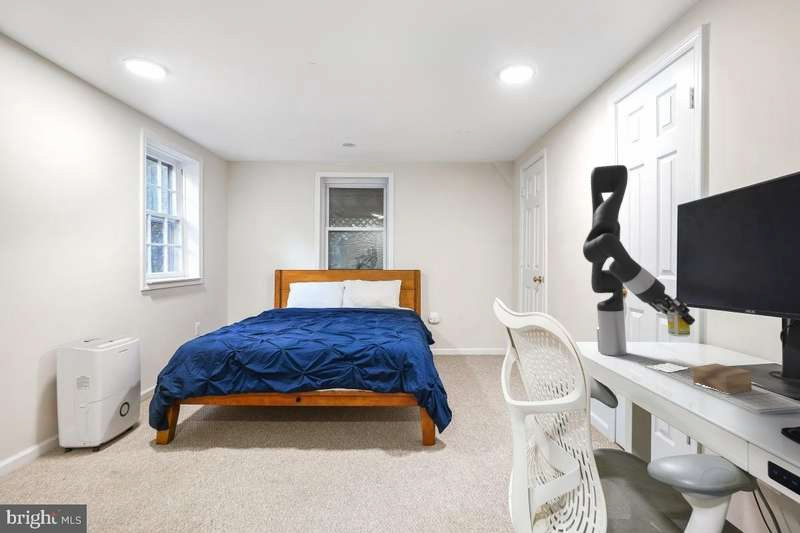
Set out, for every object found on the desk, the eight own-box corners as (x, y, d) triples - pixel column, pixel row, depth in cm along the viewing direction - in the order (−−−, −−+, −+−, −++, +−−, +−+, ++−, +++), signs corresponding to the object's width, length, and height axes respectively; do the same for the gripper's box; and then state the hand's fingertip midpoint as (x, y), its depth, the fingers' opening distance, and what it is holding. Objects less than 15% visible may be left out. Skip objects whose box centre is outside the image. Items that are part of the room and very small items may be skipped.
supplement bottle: (665, 335, 112) (664, 304, 112) (671, 332, 115) (669, 302, 115) (687, 337, 108) (685, 305, 108) (692, 334, 111) (691, 303, 111)
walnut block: (693, 384, 108) (692, 367, 108) (716, 379, 110) (715, 363, 110) (727, 394, 100) (726, 375, 99) (751, 389, 102) (750, 371, 102)
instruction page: (646, 367, 126) (646, 366, 126) (666, 362, 130) (666, 361, 130) (669, 373, 119) (669, 372, 119) (690, 368, 122) (690, 367, 122)
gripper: (667, 275, 104) (712, 315, 104) (636, 274, 119) (676, 309, 119) (649, 295, 105) (694, 334, 104) (620, 291, 119) (660, 326, 119)
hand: (684, 320), depth 111 cm, fingers closed on supplement bottle, 5 cm apart
